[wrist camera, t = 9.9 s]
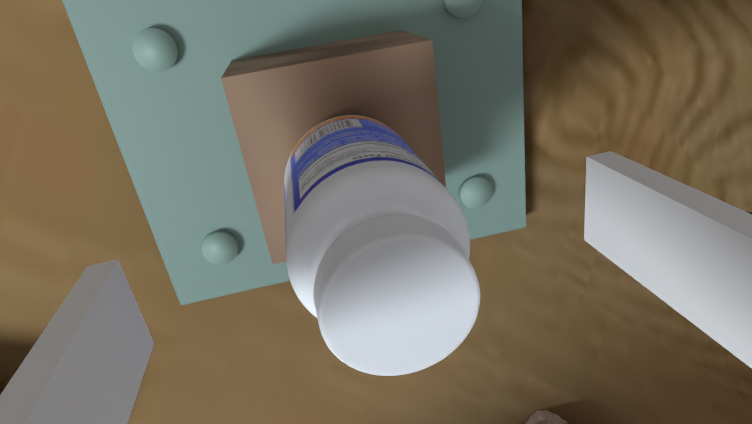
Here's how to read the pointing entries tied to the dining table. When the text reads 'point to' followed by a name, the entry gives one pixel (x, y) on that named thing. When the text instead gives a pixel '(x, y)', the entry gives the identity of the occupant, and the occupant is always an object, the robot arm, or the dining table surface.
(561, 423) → the brick
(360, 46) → the walnut block
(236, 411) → the dining table surface
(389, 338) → the pill bottle
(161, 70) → the build board
